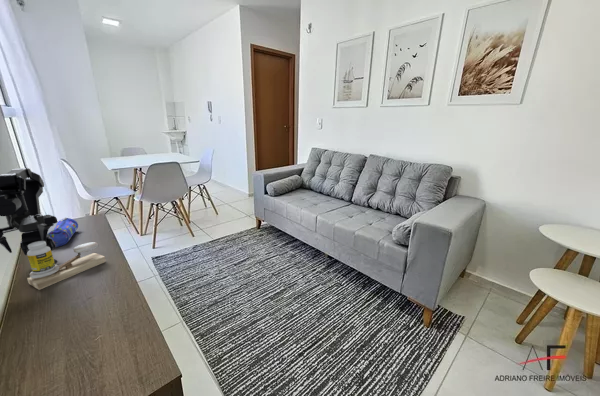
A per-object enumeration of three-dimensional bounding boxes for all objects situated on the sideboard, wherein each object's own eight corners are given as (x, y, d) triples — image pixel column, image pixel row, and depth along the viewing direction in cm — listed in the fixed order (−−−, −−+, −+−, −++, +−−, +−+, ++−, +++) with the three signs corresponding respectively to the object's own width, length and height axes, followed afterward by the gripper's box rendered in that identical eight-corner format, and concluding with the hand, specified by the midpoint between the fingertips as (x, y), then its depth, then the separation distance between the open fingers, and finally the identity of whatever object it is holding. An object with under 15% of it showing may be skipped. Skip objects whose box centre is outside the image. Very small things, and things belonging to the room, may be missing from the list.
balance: (29, 284, 94) (22, 264, 92) (95, 257, 113) (91, 240, 111) (39, 289, 91) (32, 269, 88) (105, 261, 110) (101, 244, 108)
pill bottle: (41, 275, 91) (32, 248, 88) (28, 273, 92) (19, 246, 89) (60, 266, 97) (52, 240, 94) (47, 264, 98) (39, 239, 95)
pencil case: (60, 233, 139) (56, 217, 136) (80, 230, 143) (76, 214, 140) (47, 249, 120) (42, 231, 118) (71, 245, 125) (66, 227, 122)
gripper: (-16, 220, 79) (0, 264, 83) (59, 204, 95) (69, 241, 99) (-28, 214, 84) (-13, 256, 88) (45, 200, 100) (55, 236, 104)
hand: (28, 247), depth 95 cm, fingers open, 9 cm apart
